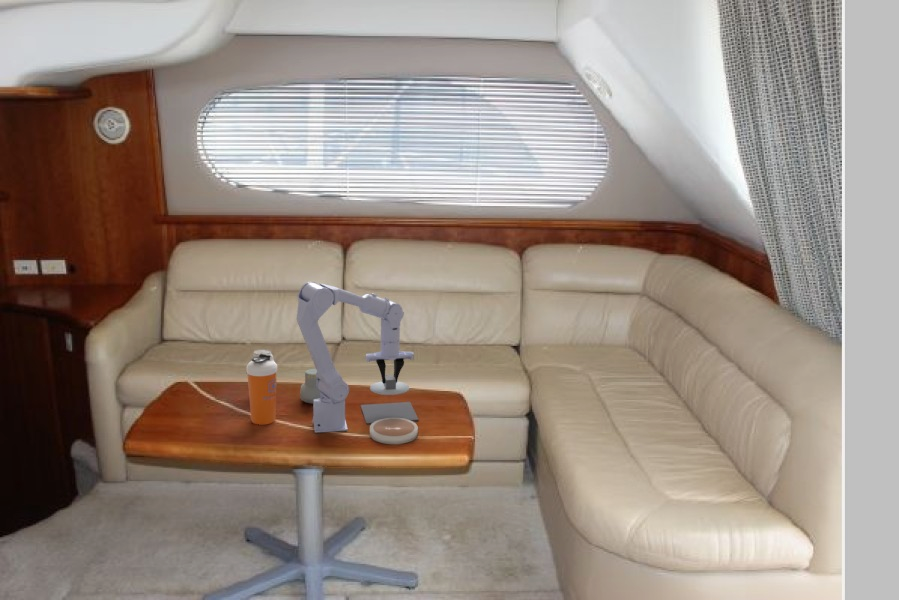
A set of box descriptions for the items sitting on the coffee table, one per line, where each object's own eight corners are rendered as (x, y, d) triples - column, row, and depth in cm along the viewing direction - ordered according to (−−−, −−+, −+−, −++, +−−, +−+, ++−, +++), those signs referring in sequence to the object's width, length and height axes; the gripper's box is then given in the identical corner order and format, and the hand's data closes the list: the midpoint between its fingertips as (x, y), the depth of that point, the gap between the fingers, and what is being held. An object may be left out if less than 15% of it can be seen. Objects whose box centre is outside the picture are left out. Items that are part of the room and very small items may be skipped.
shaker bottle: (243, 424, 215) (240, 360, 210) (255, 412, 223) (253, 351, 218) (272, 427, 214) (270, 363, 209) (283, 415, 222) (281, 353, 217)
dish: (373, 446, 204) (373, 439, 204) (366, 425, 217) (366, 419, 217) (422, 442, 207) (422, 435, 207) (412, 422, 220) (412, 416, 220)
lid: (373, 396, 217) (373, 384, 216) (367, 383, 228) (367, 372, 228) (412, 393, 220) (412, 382, 219) (405, 381, 231) (405, 371, 230)
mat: (366, 424, 218) (366, 422, 218) (360, 406, 231) (360, 404, 231) (418, 420, 222) (418, 419, 222) (410, 403, 235) (410, 401, 235)
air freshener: (326, 407, 230) (325, 377, 227) (299, 407, 229) (299, 377, 226) (329, 394, 240) (328, 365, 238) (303, 394, 239) (303, 365, 237)
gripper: (368, 345, 215) (367, 388, 218) (416, 343, 219) (415, 385, 222) (365, 337, 222) (364, 379, 225) (411, 336, 225) (410, 377, 229)
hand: (389, 382), depth 224 cm, fingers closed on lid, 3 cm apart
